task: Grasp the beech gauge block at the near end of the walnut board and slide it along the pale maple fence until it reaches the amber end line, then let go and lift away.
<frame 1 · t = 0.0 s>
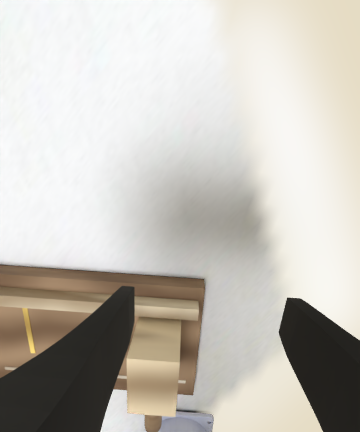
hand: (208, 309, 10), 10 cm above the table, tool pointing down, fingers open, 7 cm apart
walnut board: (98, 327, 23), on the table
gauge block: (160, 336, 21), point 1 cm above the table, touching walnut board
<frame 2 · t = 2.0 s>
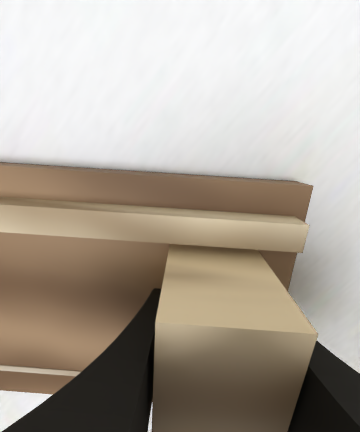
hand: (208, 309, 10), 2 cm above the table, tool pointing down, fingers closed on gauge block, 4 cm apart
walnut board: (86, 286, 13), on the table
gauge block: (206, 297, 11), point 1 cm above the table, touching gripper, walnut board
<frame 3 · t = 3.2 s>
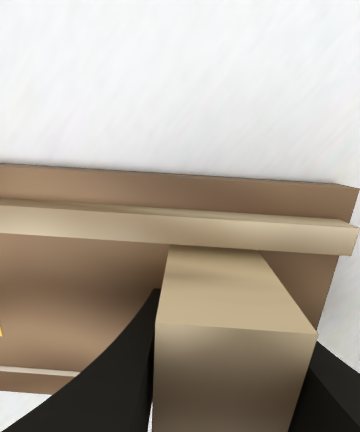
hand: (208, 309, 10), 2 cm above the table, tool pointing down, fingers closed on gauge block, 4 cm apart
walnut board: (119, 289, 13), on the table
gauge block: (206, 297, 11), point 2 cm above the table, touching gripper
when the fingers open (2 cm above the table, at t = 4.9 s): gauge block stays where it is, resting on walnut board.
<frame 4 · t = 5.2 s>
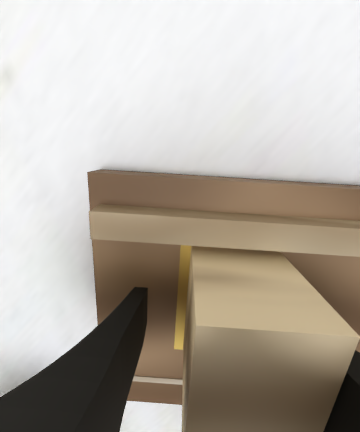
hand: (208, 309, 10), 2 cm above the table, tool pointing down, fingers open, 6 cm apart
walnut board: (291, 301, 13), on the table
gauge block: (226, 298, 11), point 2 cm above the table, touching gripper, walnut board
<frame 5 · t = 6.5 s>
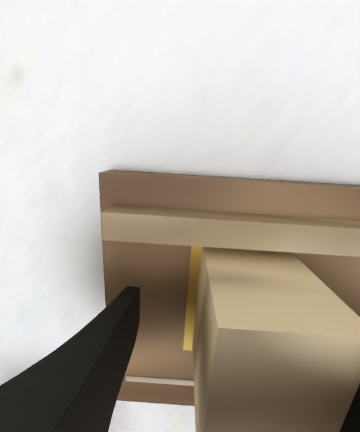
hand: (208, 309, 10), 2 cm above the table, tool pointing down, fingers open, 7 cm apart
walnut board: (299, 301, 13), on the table
gauge block: (236, 299, 11), point 2 cm above the table, touching gripper, walnut board
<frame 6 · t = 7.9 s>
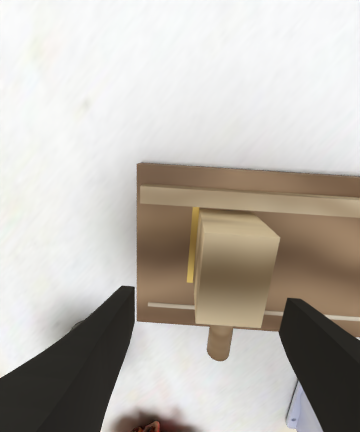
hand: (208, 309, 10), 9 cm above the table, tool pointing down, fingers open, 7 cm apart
walnut board: (265, 252, 19), on the table
gauge block: (221, 246, 17), point 1 cm above the table, touching walnut board
dragon fruit: (156, 428, 26), on the table
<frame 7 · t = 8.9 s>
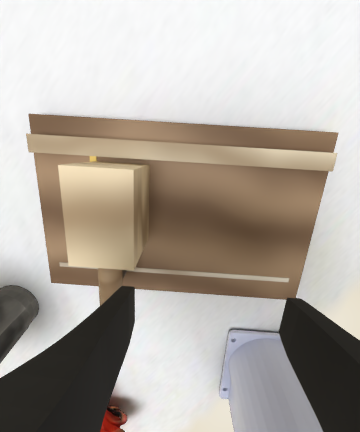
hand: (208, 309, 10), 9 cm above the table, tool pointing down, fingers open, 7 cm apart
walnut board: (177, 212, 18), on the table
gauge block: (123, 201, 17), point 1 cm above the table, touching walnut board
beverage cup: (18, 302, 22), on the table
dragon fruit: (93, 401, 26), on the table
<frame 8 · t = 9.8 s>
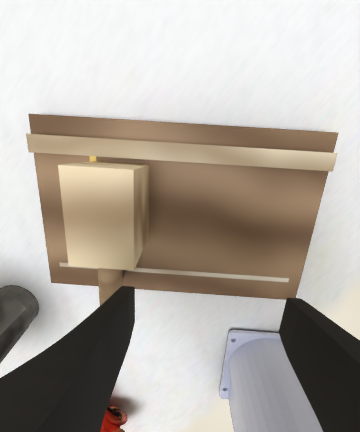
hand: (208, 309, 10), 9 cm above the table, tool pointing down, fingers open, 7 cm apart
walnut board: (177, 212, 18), on the table
gauge block: (123, 201, 17), point 1 cm above the table, touching walnut board
beverage cup: (18, 302, 22), on the table
dragon fruit: (93, 401, 26), on the table
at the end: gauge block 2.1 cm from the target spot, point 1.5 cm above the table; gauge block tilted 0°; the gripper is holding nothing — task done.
